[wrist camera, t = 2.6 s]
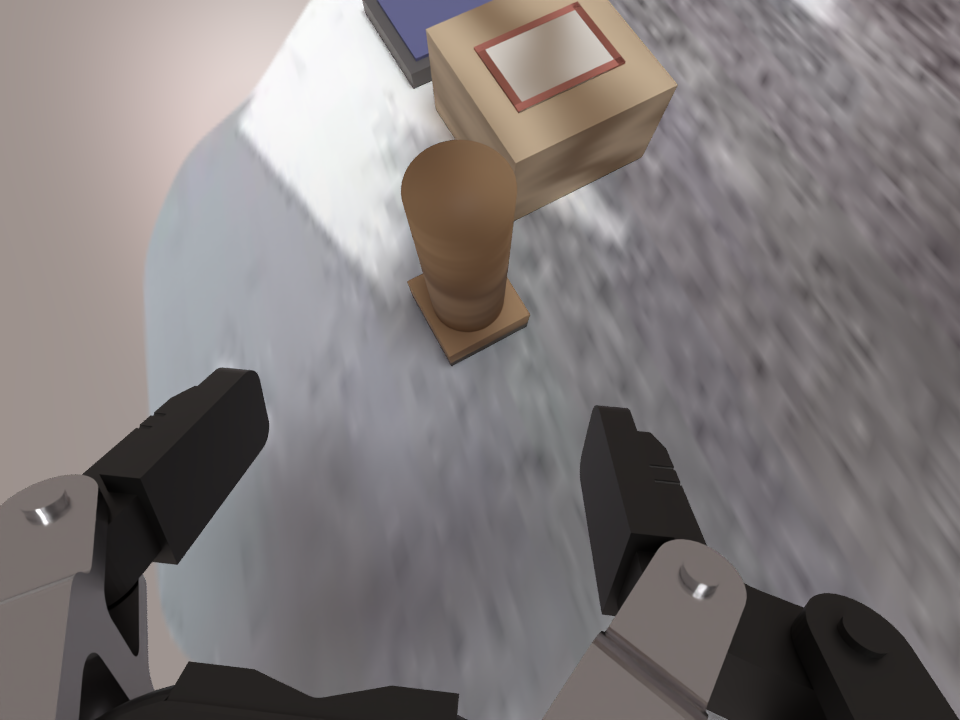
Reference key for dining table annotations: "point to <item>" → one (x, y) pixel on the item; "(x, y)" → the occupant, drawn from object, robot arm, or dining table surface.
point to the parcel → (548, 90)
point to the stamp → (463, 245)
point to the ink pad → (413, 29)
